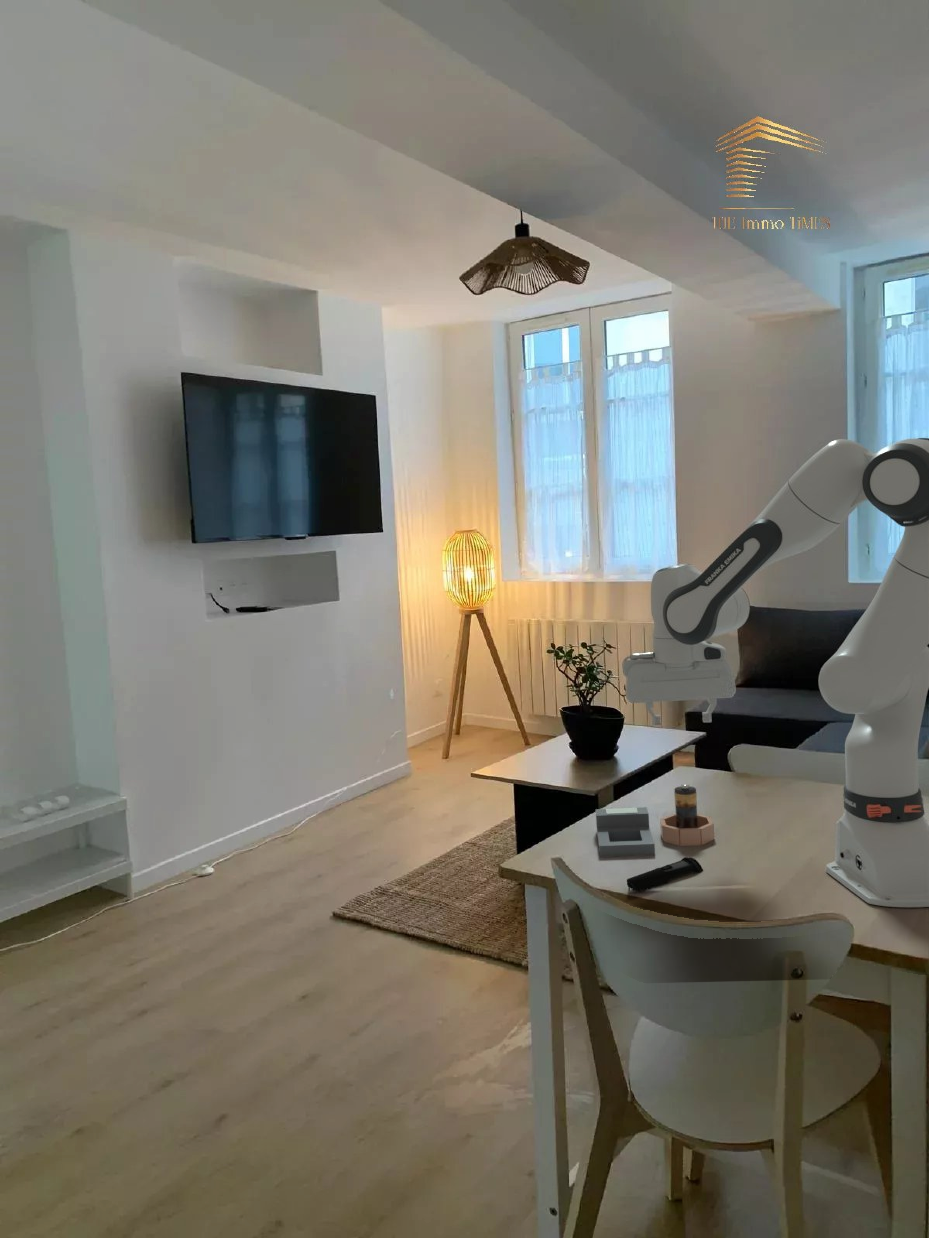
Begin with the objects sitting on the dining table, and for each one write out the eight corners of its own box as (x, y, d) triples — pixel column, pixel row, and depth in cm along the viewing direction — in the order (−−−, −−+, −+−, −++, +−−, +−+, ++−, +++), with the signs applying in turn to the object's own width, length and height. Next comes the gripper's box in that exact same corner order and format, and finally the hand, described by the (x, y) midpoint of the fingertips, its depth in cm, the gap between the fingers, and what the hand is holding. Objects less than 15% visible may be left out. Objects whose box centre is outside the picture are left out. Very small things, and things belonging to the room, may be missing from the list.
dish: (717, 846, 175) (716, 828, 174) (664, 848, 176) (663, 830, 175) (708, 829, 184) (708, 812, 184) (659, 831, 185) (658, 814, 185)
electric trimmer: (621, 892, 158) (620, 874, 158) (689, 868, 166) (688, 851, 165) (636, 899, 155) (635, 881, 154) (705, 874, 162) (704, 857, 162)
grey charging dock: (655, 857, 172) (653, 829, 171) (600, 859, 173) (598, 831, 172) (647, 831, 185) (646, 806, 185) (597, 833, 187) (595, 808, 186)
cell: (699, 838, 177) (697, 787, 177) (677, 838, 178) (675, 788, 177) (696, 830, 182) (694, 781, 181) (675, 831, 182) (672, 782, 181)
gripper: (622, 656, 174) (627, 729, 175) (735, 649, 172) (739, 723, 173) (620, 652, 180) (625, 722, 182) (729, 645, 178) (733, 716, 180)
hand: (681, 723), depth 177 cm, fingers open, 8 cm apart
